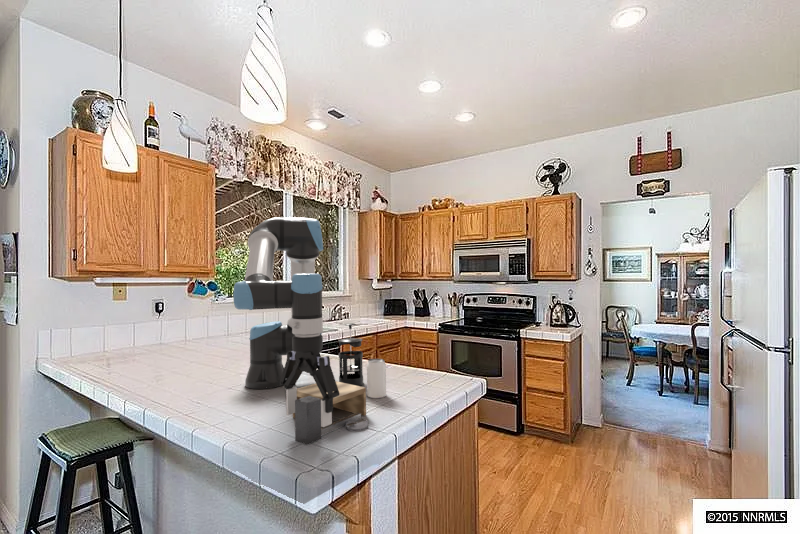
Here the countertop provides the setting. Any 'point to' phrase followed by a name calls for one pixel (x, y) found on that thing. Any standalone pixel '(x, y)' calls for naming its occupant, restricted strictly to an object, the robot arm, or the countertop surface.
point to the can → (376, 378)
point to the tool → (314, 420)
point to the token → (356, 424)
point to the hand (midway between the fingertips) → (308, 419)
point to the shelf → (340, 397)
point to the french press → (354, 377)
